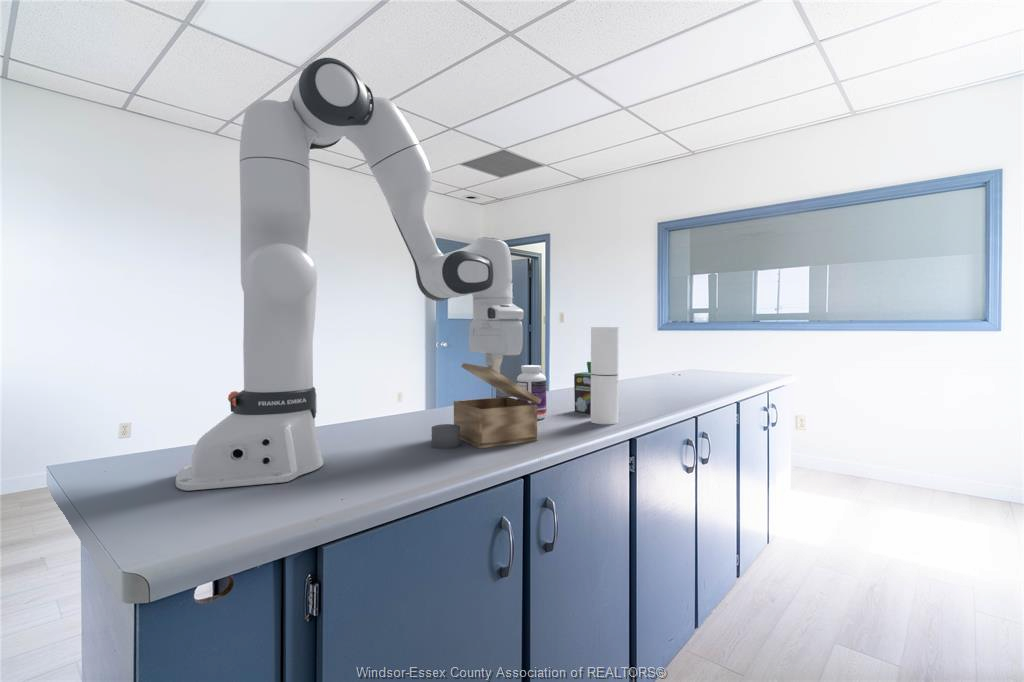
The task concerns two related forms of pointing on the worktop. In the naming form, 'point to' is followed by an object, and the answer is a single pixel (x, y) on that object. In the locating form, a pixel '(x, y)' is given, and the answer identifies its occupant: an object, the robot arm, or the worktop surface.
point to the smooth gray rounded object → (445, 436)
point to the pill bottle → (534, 386)
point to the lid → (500, 382)
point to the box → (496, 421)
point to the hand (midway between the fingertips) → (493, 373)
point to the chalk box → (583, 390)
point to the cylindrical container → (604, 374)
